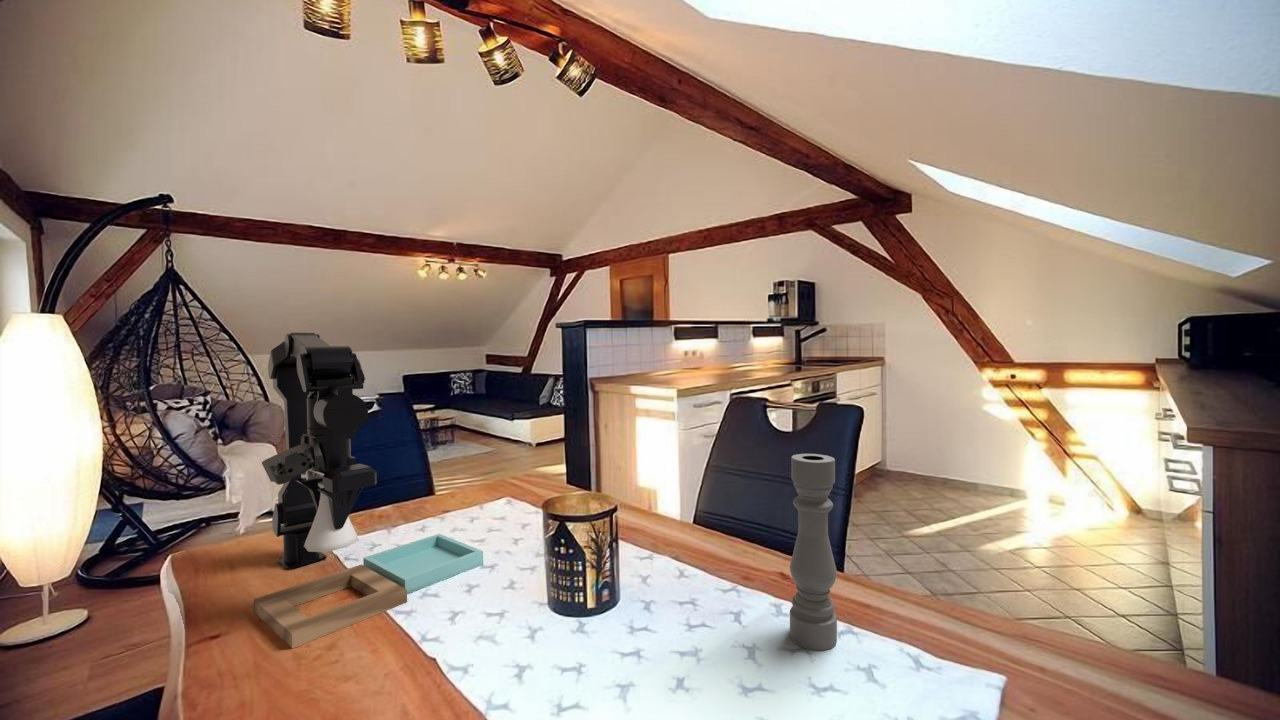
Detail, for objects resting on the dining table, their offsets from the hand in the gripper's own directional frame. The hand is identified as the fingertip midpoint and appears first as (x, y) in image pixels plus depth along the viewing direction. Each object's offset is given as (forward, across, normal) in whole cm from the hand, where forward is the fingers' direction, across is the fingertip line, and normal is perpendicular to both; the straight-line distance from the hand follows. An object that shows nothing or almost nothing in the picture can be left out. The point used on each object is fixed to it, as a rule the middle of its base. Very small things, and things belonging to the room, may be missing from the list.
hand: (331, 525), depth 81 cm
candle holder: (+13, +63, +37) cm, 74 cm away
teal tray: (+13, -2, +16) cm, 21 cm away
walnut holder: (+13, 0, 0) cm, 13 cm away
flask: (+3, 0, 0) cm, 3 cm away
